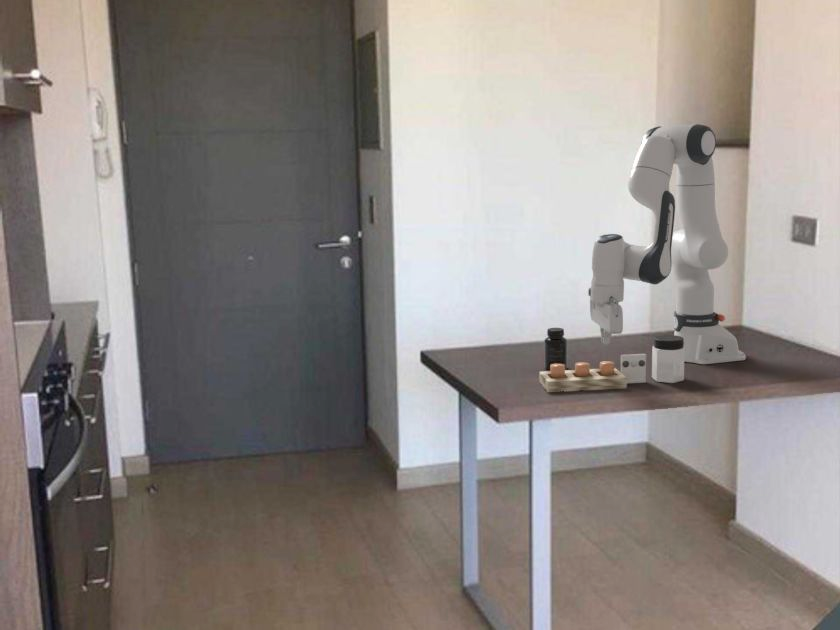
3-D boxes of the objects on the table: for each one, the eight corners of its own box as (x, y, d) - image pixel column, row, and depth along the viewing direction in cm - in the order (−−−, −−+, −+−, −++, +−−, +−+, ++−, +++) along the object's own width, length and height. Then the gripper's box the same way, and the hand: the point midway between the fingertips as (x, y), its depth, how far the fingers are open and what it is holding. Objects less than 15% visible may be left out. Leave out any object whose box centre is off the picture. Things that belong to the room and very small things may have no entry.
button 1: (562, 373, 277) (563, 363, 276) (566, 377, 273) (566, 366, 272) (548, 374, 276) (548, 363, 276) (552, 378, 273) (552, 367, 272)
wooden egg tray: (615, 378, 282) (615, 367, 282) (626, 388, 271) (626, 377, 271) (539, 381, 280) (539, 371, 280) (547, 392, 270) (547, 381, 269)
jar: (668, 384, 274) (669, 342, 271) (645, 379, 280) (646, 337, 278) (689, 379, 279) (691, 337, 276) (667, 373, 285) (668, 333, 283)
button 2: (611, 371, 278) (612, 360, 277) (616, 374, 274) (616, 364, 273) (597, 371, 278) (598, 361, 277) (601, 375, 274) (602, 365, 273)
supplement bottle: (543, 365, 298) (543, 326, 296) (566, 365, 298) (566, 326, 296) (545, 371, 291) (545, 331, 289) (568, 371, 291) (568, 331, 289)
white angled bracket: (642, 379, 280) (643, 352, 278) (646, 382, 277) (646, 354, 275) (618, 380, 279) (618, 353, 277) (621, 383, 276) (621, 355, 275)
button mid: (587, 372, 277) (587, 362, 277) (591, 376, 273) (591, 365, 273) (573, 373, 277) (573, 362, 276) (577, 376, 273) (577, 366, 273)
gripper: (629, 300, 261) (627, 351, 264) (608, 287, 281) (606, 335, 284) (606, 300, 261) (604, 352, 264) (586, 288, 281) (585, 335, 284)
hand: (605, 343), depth 274 cm, fingers closed
